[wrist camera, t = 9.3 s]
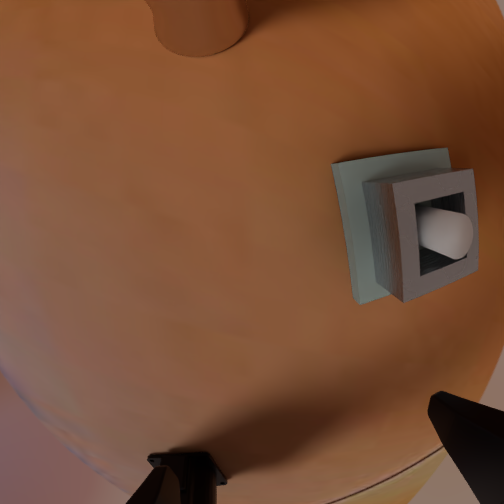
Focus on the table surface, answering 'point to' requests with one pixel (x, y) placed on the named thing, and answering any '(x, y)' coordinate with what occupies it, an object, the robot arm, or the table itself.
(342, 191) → the shaft block
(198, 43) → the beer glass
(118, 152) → the table surface
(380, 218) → the square ring block
